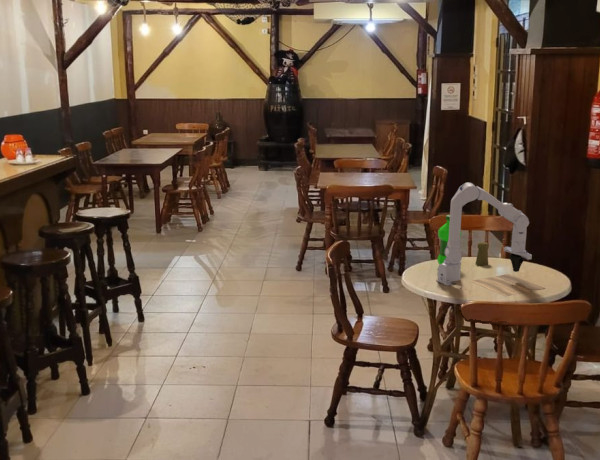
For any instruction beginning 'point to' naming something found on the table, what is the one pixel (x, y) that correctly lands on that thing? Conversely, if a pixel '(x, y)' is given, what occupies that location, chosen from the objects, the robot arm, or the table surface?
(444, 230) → the plastic bottle
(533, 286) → the loose plank
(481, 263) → the olive tapered tower
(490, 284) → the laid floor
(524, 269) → the table surface
